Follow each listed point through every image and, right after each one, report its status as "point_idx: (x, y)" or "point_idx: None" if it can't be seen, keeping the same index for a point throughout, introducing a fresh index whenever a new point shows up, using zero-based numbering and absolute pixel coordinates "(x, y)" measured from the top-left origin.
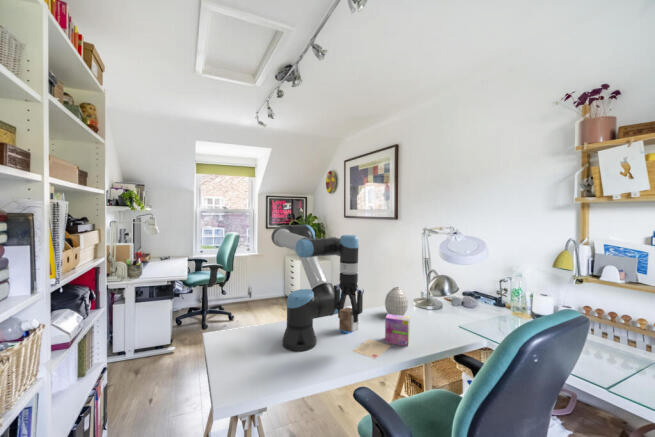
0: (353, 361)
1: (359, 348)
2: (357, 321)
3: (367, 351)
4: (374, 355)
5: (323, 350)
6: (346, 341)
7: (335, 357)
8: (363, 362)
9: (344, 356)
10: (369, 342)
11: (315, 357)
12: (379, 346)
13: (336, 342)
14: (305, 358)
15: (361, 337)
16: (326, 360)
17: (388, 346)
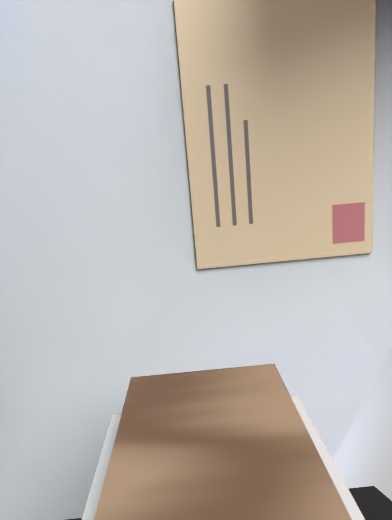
0: (276, 361)
1: (212, 204)
2: (381, 494)
3: (280, 202)
4: (345, 218)
5: (52, 384)
6: (65, 170)
7: None
8: (328, 331)
9: (200, 352)
10: (212, 58)
11: (84, 471)
12: (308, 65)
13: (25, 237)
14: (53, 513)
15: (101, 11)
16: None
17: (365, 12)
